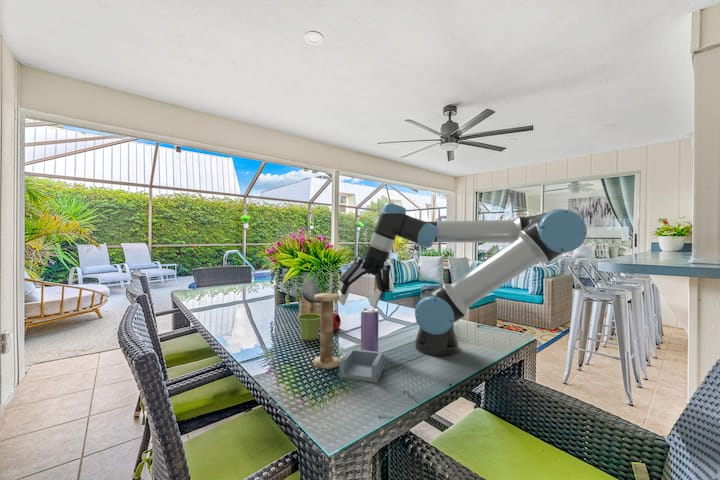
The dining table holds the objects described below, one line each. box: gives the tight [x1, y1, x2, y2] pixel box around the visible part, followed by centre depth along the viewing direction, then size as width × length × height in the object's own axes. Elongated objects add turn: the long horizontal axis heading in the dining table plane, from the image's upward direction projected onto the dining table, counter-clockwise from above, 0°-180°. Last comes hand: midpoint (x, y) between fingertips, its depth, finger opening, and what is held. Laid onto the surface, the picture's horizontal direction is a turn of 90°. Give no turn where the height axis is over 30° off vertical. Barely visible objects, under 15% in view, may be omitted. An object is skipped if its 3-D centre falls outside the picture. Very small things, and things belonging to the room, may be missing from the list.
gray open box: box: [338, 348, 385, 383], centre depth 92 cm, size 11×10×5 cm
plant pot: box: [297, 313, 321, 342], centre depth 121 cm, size 9×9×9 cm
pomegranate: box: [319, 310, 342, 332], centre depth 133 cm, size 10×10×9 cm
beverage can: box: [360, 307, 380, 352], centre depth 107 cm, size 6×6×15 cm
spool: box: [313, 292, 341, 370], centre depth 98 cm, size 8×8×22 cm
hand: (357, 305), depth 107 cm, fingers open, 13 cm apart
